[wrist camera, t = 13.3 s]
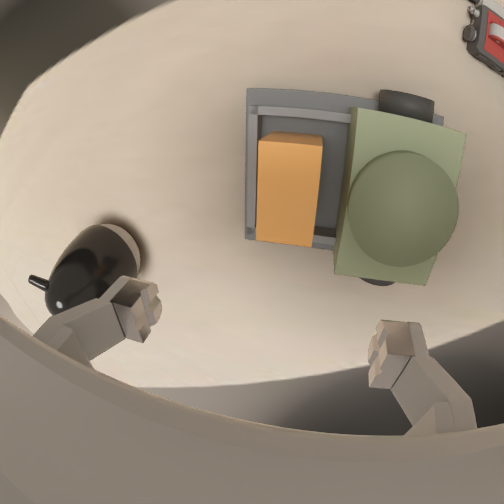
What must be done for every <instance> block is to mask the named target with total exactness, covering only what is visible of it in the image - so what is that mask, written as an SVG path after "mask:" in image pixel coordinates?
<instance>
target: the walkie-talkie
mask: <svg viewBox="0 0 504 504" xmlns="http://www.w3.org/2000/svg"><path fill="white" fill-rule="evenodd" d="M472 1H474V2H475V3H476V5H475V7H472V6H469V7H468V11H469V12H470V13H471V23H470V25H467V26H466V28H465V29H464V32H463V36H464V39H465V40H466V41H468V43H467V51H468V52H469V54H471V55H473V56H474V57H476V58H477V59H479V60H480V61H481V62H483V63H484V64H486V65H487V66H489V67H490V68H491V69H493V70H494V71H495V72H497V73H498V74H500V75H502V77H504V8H503V7H502V6H501V5H499V4H498V3H497V2H495V1H494V0H472Z"/></svg>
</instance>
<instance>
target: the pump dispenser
mask: <svg viewBox="0 0 504 504" xmlns="http://www.w3.org/2000/svg"><path fill="white" fill-rule="evenodd" d="M139 268H140V253H139V249H138V247H137V244H136V242H135V241H134V239H133V238H132V237H131V235H130V234H129V233H128V232H127V231H125V230H124V229H122V228H121V227H119V226H116V225H113V224H100V225H92V226H89V227H87V228H86V229H84V230H83V231H82V232H81V233H80V234H79V235H78V236H77V237H76V238H75V239H74V240H73V241H72V242H71V243H70V244H69V245H68V246H67V248H66V249H65V250H64V251H63V253H62V254H61V256H60V257H59V259H58V261H57V262H56V264H55V266H54V268H53V270H52V272H51V275H50V277H49V280H46V279H43V278H40V277H37V276H35V275H30V276H29V279H28V281H29V283H30V284H32V285H34V286H36V287H38V288H39V289H41V290H43V291H45V302H46V306H47V308H48V310H49V312H50V313H51V314H52V316H54V315H56V314H59V313H61V312H64V311H66V310H68V309H71V308H73V307H76V306H78V305H80V304H83V303H85V302H88V301H90V300H93V299H95V298H98V299H99V298H100V297H101V296H102V295H103V294H104V293H105V292H106V291H107V290H108V289H109V288H110V287H111V286H112V285H113V284H114V282H115V281H116V280H117V279H118V278H119V277H120V276H128V277H131V278H136V279H137V275H138V272H139Z"/></svg>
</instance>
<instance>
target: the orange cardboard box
mask: <svg viewBox="0 0 504 504" xmlns="http://www.w3.org/2000/svg"><path fill="white" fill-rule="evenodd" d="M322 148H323V144H322V135H317V134H307V133H297V132H285V131H273V132H271V133H270V134H268V135H267V136H265V137H264V138H262V139H261V140H259V143H258V182H257V219H256V240H259V241H266V242H274V243H282V244H290V245H298V246H305V247H312V240H313V233H314V225H315V217H316V208H317V200H318V190H319V181H320V171H321V160H322Z"/></svg>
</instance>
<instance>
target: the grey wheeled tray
mask: <svg viewBox="0 0 504 504" xmlns="http://www.w3.org/2000/svg"><path fill="white" fill-rule="evenodd" d="M433 113H434V101H432V100H429V99H427V98H423V97H420V96H416V95H412V94H408V93H403V92H398V91H392V90H380V101H377V100H372V99H366V98H360V97H354V96H348V95H340V94H333V93H324V92H314V91H303V90H289V89H266V88H247V101H246V175H245V239H249V240H256V219H257V182H258V143H259V140H261V139H262V138H264V137H265V136H267V135H268V134H270V133H271V132H273V131H285V132H297V133H307V134H317V135H322V144H323V148H322V160H321V171H320V181H319V190H318V200H317V208H316V217H315V225H314V233H313V240H312V248H319V249H327V250H334V274H337V275H345V276H353V277H359V278H361V279H362V280H364V281H365V282H368V283H370V284H373V285H378V286H388V285H391V284H393V283H395V282H400V283H408V284H416V285H424V286H425V285H426V283H427V280H428V278H429V275H430V273H431V270H432V267H433V264H434V262H435V259H436V256H437V253H438V252H439V251H440V250H441V249H442V248H443V247H444V246H445V244H446V243H447V242H448V240H449V239H450V237H451V235H452V233H453V231H454V229H455V226H456V222H457V218H458V197H457V193H456V186H457V181H458V177H459V172H460V167H461V161H462V156H463V150H464V143H465V137H466V134H465V133H462V132H459V131H456V130H452V129H449V128H446V127H443V120H444V117H443V116H439V115H436V114H433ZM257 241H259V240H257ZM265 242H266V241H265ZM273 243H274V242H273ZM281 244H282V243H281ZM289 245H290V244H289ZM296 246H298V245H296ZM304 247H305V246H304Z"/></svg>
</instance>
